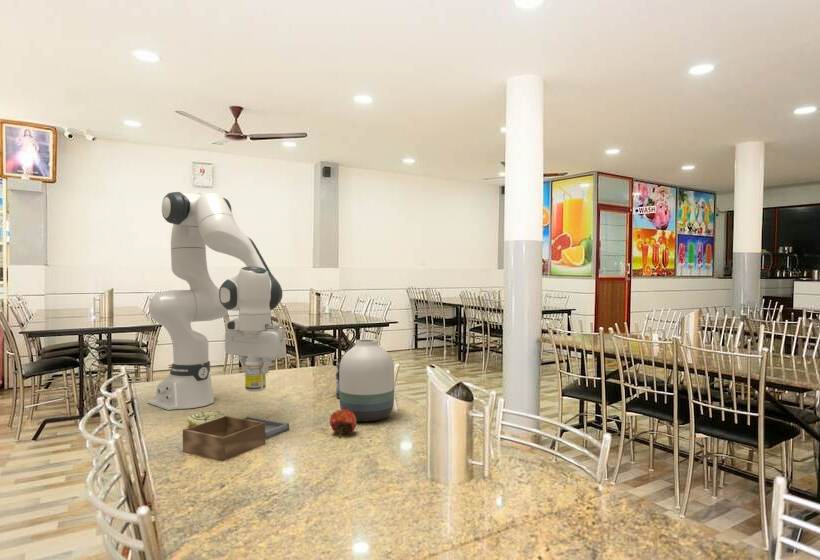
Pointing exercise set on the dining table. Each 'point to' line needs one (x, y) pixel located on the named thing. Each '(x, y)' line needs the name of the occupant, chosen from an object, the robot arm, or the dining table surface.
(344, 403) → the vase
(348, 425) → the pomegranate
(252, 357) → the supplement bottle
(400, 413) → the dining table surface
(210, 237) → the robot arm
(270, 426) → the tray
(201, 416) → the decorated donut
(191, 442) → the box
